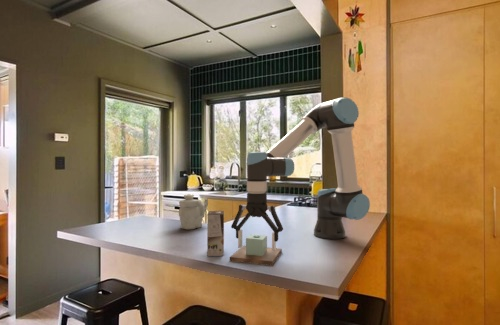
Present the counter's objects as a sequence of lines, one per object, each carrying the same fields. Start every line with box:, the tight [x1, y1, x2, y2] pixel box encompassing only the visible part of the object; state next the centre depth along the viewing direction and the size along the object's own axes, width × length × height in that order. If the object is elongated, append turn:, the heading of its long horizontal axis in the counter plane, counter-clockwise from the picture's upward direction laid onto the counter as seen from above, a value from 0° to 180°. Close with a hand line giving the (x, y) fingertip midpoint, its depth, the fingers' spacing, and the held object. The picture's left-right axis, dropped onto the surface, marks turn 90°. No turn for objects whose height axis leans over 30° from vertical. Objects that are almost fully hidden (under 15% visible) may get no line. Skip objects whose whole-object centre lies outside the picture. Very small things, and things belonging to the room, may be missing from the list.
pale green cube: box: [245, 234, 268, 256], centre depth 114 cm, size 6×6×6 cm
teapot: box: [178, 193, 209, 230], centre depth 167 cm, size 16×15×19 cm
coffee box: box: [206, 210, 225, 257], centre depth 119 cm, size 9×6×16 cm
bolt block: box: [229, 245, 283, 267], centre depth 114 cm, size 16×16×6 cm
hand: (256, 248), depth 114 cm, fingers open, 13 cm apart
